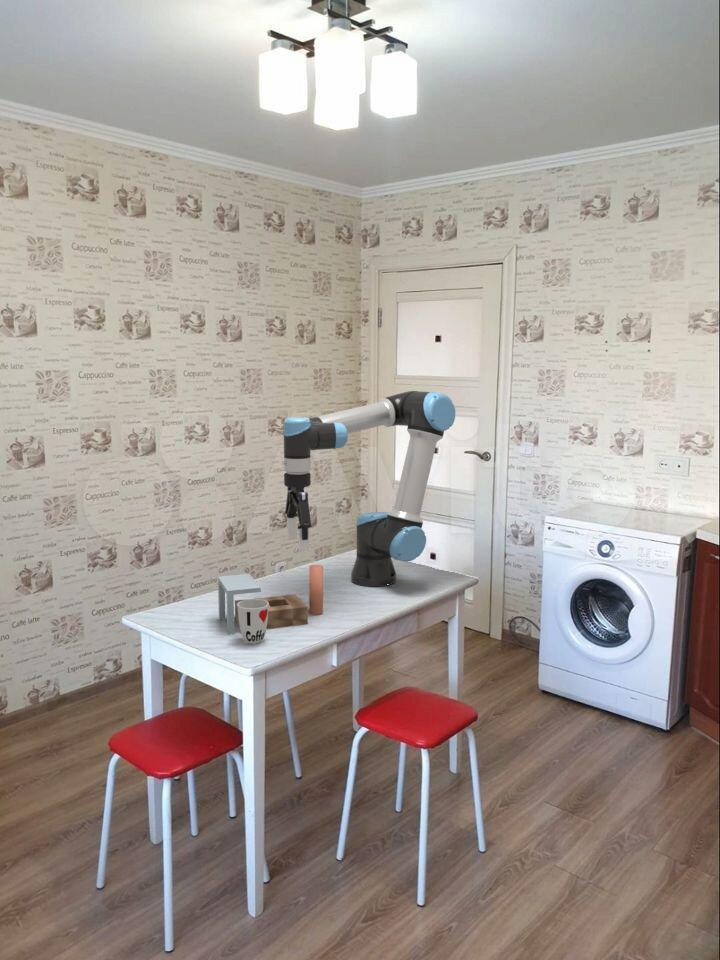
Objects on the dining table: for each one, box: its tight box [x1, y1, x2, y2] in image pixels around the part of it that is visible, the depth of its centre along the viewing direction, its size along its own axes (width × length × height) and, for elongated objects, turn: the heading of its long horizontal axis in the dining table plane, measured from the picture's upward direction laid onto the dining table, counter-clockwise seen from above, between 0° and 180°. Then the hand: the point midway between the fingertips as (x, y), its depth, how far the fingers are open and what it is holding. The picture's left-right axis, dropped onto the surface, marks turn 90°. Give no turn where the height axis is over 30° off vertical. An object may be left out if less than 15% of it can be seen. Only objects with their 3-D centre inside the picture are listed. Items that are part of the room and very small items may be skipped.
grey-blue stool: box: [217, 573, 262, 636], centre depth 210 cm, size 9×14×12 cm, turn 21°
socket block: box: [234, 593, 309, 630], centre depth 214 cm, size 18×12×5 cm, turn 111°
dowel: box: [308, 564, 324, 616], centre depth 220 cm, size 4×4×14 cm
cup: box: [237, 598, 269, 645], centre depth 199 cm, size 8×8×10 cm
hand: (297, 544), depth 219 cm, fingers open, 13 cm apart
